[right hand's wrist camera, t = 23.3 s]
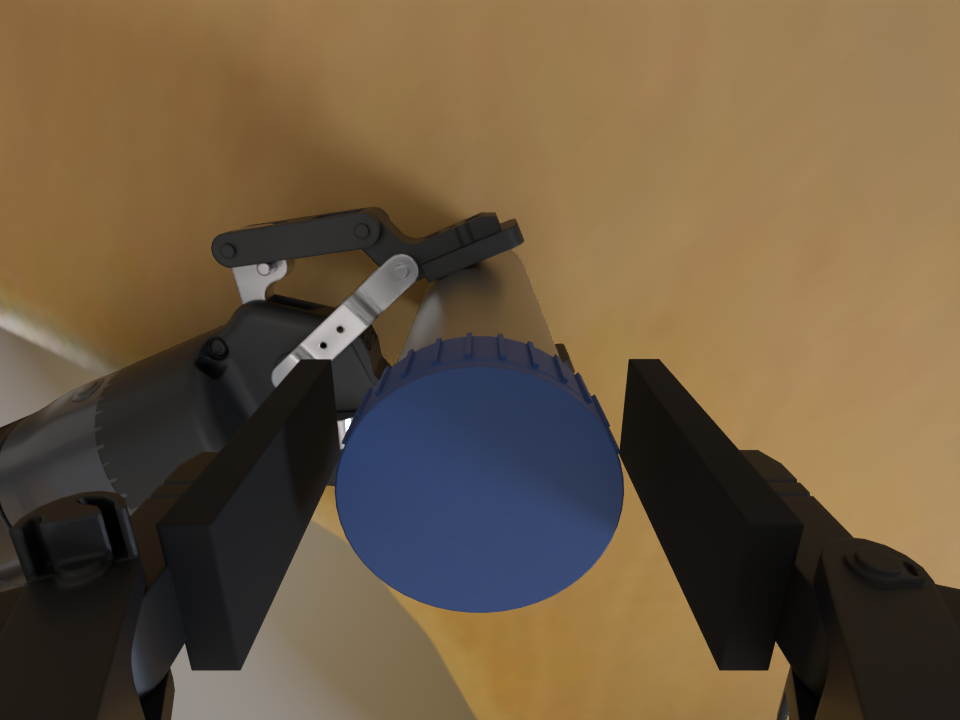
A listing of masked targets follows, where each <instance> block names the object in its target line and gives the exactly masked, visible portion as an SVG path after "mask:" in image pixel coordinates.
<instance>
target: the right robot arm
mask: <svg viewBox="0 0 960 720" xmlns="http://www.w3.org/2000/svg"><path fill="white" fill-rule="evenodd" d="M340 455H341V452H340V442H339V432H338V422H337V412H336V403H335V393H334V383H333V373H332V363H331V359H301V360H300V361H299V362H298V363H297V364H296V365H295V366H294V368H293V369H292V370H291V371H290V372H289V373H288V374H287V376H286V377H285V378H284V379H283V380H282V381H281V382H280V383H279V385H278V386H277V387H276V388H275V389H274V390H273V391H272V393H271V394H270V395H269V396H268V397H267V398H266V399H265V401H264V402H263V403H262V404H261V405H260V406H259V407H258V409H257V410H256V411H255V412H254V413H253V414H252V415H251V417H250V418H249V419H248V420H247V421H246V422H245V423H244V425H243V426H242V427H241V428H240V429H239V430H238V431H237V432H236V434H235V435H234V436H233V437H232V438H231V439H230V440H229V442H228V443H227V444H226V445H225V446H224V447H223V448H222V450H221V451H220V452H202V453H200V454H198V455H196V456H195V457H193V458H191V459H189V460H188V461H186V462H184V463H183V464H181V465H179V466H178V467H177V468H176V469H175V470H174V471H173V472H172V473H171V474H170V475H169V476H168V477H167V478H166V480H165V481H164V484H163V485H160V486H159V487H158V488H157V489H156V490H155V491H154V492H153V493H152V494H151V497H150V498H147V499H146V500H145V501H144V502H143V503H142V504H141V505H140V506H139V507H138V508H137V509H136V510H135V511H134V513H133V514H132V515H131V516H130V515H129V511H128V508H127V504H126V500H125V498H123V497H122V496H120V495H119V494H117V493H114V492H107V491H93V492H83V493H78V494H74V495H71V496H67V497H63V498H59V499H57V500H54V501H52V502H50V503H47V504H45V505H43V506H40V507H38V508H36V509H35V510H33V511H31V512H30V513H28V514H27V515H25V516H23V517H22V518H20V519H19V520H18V521H17V522H16V523H15V524H14V525H13V526H12V527H11V529H10V530H9V534H10V537H11V540H12V542H13V545H14V548H15V551H16V553H17V556H18V559H19V562H20V564H21V567H22V570H23V573H24V575H25V578H26V581H27V582H26V584H25V586H24V587H21V588H17V589H12V590H7V591H2V592H0V720H171V715H172V708H173V700H174V692H175V689H174V682H173V676H172V673H171V669H170V667H171V665H172V663H173V662H174V660H175V658H176V657H177V655H178V653H179V652H180V650H181V648H182V647H183V645H184V644H185V645H186V649H187V653H188V657H189V661H190V665H191V669H192V670H241V668H242V666H243V664H244V662H245V660H246V657H247V655H248V653H249V651H250V649H251V647H252V645H253V642H254V640H255V638H256V636H257V634H258V632H259V630H260V627H261V625H262V623H263V621H264V619H265V617H266V614H267V612H268V610H269V608H270V606H271V604H272V602H273V599H274V597H275V595H276V593H277V591H278V589H279V586H280V584H281V582H282V580H283V578H284V576H285V574H286V571H287V569H288V567H289V565H290V563H291V560H292V559H293V556H294V554H295V552H296V550H297V548H298V546H299V543H300V541H301V539H302V537H303V535H304V533H305V530H306V528H307V526H308V524H309V522H310V520H311V518H312V515H313V513H314V511H315V509H316V507H317V505H318V503H319V500H320V498H321V496H322V494H323V492H324V490H325V487H326V485H327V483H328V481H329V479H330V477H331V475H332V472H333V470H334V468H335V466H336V464H337V462H338V460H339V457H340ZM619 455H620V457H621V460H622V462H623V464H624V466H625V468H626V470H627V472H628V475H629V477H630V479H631V481H632V483H633V485H634V488H635V490H636V492H637V494H638V496H639V498H640V500H641V503H642V505H643V507H644V509H645V511H646V513H647V515H648V518H649V520H650V522H651V524H652V526H653V528H654V531H655V533H656V535H657V537H658V539H659V541H660V543H661V546H662V548H663V550H664V552H665V554H666V556H667V559H668V561H669V563H670V565H671V567H672V569H673V571H674V574H675V576H676V578H677V580H678V582H679V584H680V586H681V589H682V591H683V593H684V595H685V597H686V599H687V602H688V604H689V606H690V608H691V610H692V612H693V614H694V617H695V619H696V621H697V623H698V625H699V627H700V630H701V632H702V634H703V636H704V638H705V640H706V642H707V645H708V647H709V649H710V651H711V653H712V655H713V658H714V660H715V662H716V664H717V666H718V668H719V670H768V669H769V665H770V661H771V657H772V653H773V649H774V645H775V641H776V642H777V644H778V646H779V647H780V649H781V651H782V652H783V654H784V655H785V657H786V659H787V660H788V662H789V664H790V669H789V673H788V676H787V680H786V684H785V688H784V691H783V695H782V699H781V703H780V706H779V710H778V714H777V720H786V719H787V716H788V715H789V720H960V589H956V588H951V587H946V586H941V585H937V584H935V583H934V581H933V580H932V578H931V577H930V576H929V575H928V573H927V572H926V571H925V570H924V568H923V567H921V566H920V565H919V564H917V563H916V562H914V561H913V560H912V559H910V558H909V557H908V556H906V555H904V554H902V553H900V552H898V551H896V550H894V549H892V548H890V547H888V546H886V545H883V544H879V543H876V542H873V541H869V540H866V539H860V538H853V537H852V535H851V534H850V533H849V532H848V531H847V530H846V529H845V528H844V527H843V526H842V525H841V524H840V523H839V522H838V521H837V520H836V519H835V518H834V517H833V516H832V515H831V514H830V513H829V512H828V511H827V510H826V509H825V508H824V507H823V506H822V505H821V504H820V503H819V502H818V501H817V500H816V499H815V498H814V497H813V496H810V492H809V491H808V490H807V489H806V488H805V487H804V486H803V485H802V484H801V483H797V479H796V478H795V477H794V476H793V475H792V474H791V473H790V472H789V471H788V470H787V469H786V468H785V467H784V466H783V465H782V464H781V463H779V462H778V461H776V460H774V459H772V458H771V457H769V456H767V455H765V454H764V453H762V452H760V451H759V450H738V448H737V447H736V446H735V445H734V444H733V443H732V442H731V440H730V439H729V438H728V437H727V436H726V435H725V434H724V432H723V431H722V430H721V429H720V428H719V427H718V426H717V425H716V423H715V422H714V421H713V420H712V419H711V418H710V417H709V415H708V414H707V413H706V412H705V411H704V410H703V409H702V407H701V406H700V405H699V404H698V403H697V402H696V401H695V399H694V398H693V397H692V396H691V395H690V394H689V393H688V391H687V390H686V389H685V388H684V387H683V386H682V385H681V383H680V382H679V381H678V380H677V379H676V378H675V377H674V376H673V374H672V373H671V372H670V371H669V370H668V369H667V368H666V366H665V365H664V364H663V363H662V362H661V361H660V360H659V359H629V363H628V373H627V383H626V393H625V403H624V412H623V422H622V432H621V442H620V453H619Z"/></svg>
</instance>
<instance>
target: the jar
mask: <svg viewBox="0 0 960 720" xmlns="http://www.w3.org/2000/svg"><path fill="white" fill-rule="evenodd" d="M471 332H472V336H493V337H497V336H498V334H503V337H504V338H507V339H511V340H515V341H519V342H522V343H525V344H527V342H528V341H530V342H533V345H534V347H535V348H538V349H540V350H542V351H544V352H545V353H547V354H549V355H551V356H552V357H553V356H554V355H555V354H556V355H558V356H559V354H558V352H557V349H556V346H555V344H554V341H553V339H552V336H551V334H550V331H549V329H548V326H547V324H546V321H545V319H544V316H543V314H542V311H541V309H540V306H539V303H538V301H537V298H536V296H535V293H534V291H533V288H532V286H531V283H530V281H529V278H528V276H527V273H526V271H525V268H524V266H523V264H522V262H521V260H520V259H519V258H518V256H517V255H516V254H515V253H514V252H513V251H512V250H511V249H509V250H507V251H505V252H502V253H500V254H497V255H495V256H493V257H490V258H488V259H485V260H483V261H481V262H478V263H476V264H473V265H471V266H469V267H466V268H464V269H462V270H459V271H456V272H453V273H451V274H449V275H447V276H445V277H442V278H440V279H438V280H435V281H433V282H430V283H429V284H428V287H427V289H426V292H425V294H424V297H423V299H422V302H421V304H420V307H419V309H418V312H417V314H416V317H415V319H414V322H413V324H412V327H411V329H410V332H409V334H408V337H407V339H406V342H405V344H404V347H403V349H402V352H401V354H400V357H399V359H398V362H399V361H401V360H402V359H404V358H405V357H406V356H407V353H408V351H409V350H411V349H413V350H414V351H417V350H419V349H421V348H423V347H426V346H429V345H431V344H434V343H435V342H436V339H437V338H442V341H444V340H448V339H452V338H458V337H466V335H467V333H471ZM560 360H561V359H560ZM398 362H397V363H398Z"/></svg>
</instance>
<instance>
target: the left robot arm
mask: <svg viewBox="0 0 960 720" xmlns="http://www.w3.org/2000/svg"><path fill="white" fill-rule="evenodd" d="M523 242H524V239H523V236H522V234H521V231H520V228H519V226H518V223H517V221H516V219H511V220H508V221H506V222H503V223H501V224H500V223H499V220H498V218H497V215H496V213H495V212H494V213H479V214H477V215H474V216H472V217H470V218H468V219H465V220H463V221H461V222H458V223H456V224H454V225H451V226H449V227H447V228H444V229H442V230H440V231H437V232H435V233H433V234H430V235H428V236H426V237H423V238H419V239H415V238H410V237H408V236H406V235H404V234H403V233H402V232H401V231H400V230H399V229H398V228H397V227H396V226H395V225H394V224H393V223H392V222H391V221H390V219H389V217H388V215H387V213H386V212H385V211H384V210H382V209H381V208H378V207H368V208H361V209H354V210H348V211H341V212H334V213H328V214H321V215H315V216H308V217H301V218H295V219H288V220H282V221H275V222H268V223H262V224H255V225H249V226H246V227H243V228H239V229H236V230H233V231H229V232H226V233H223V234H220V235H218V236H217V237H216V238H215V239H214V240H213V242H212V248H211V249H212V254H213V256H214V258H215V259H216V261H217V262H218V263H220V264H221V265H223V266H225V267H228V268H232V271H233V275H234V278H235V281H236V284H237V288H238V291H239V294H240V298H241V301H242V304H243V305H241V306H240V307H239V308H238V309H237V310H236V311H235V312H234V314H233V316H232V317H231V319H230V320H229V321H228V322H227V323H226V324H225V325H223V326H221V327H218V328H216V329H214V330H211V331H209V332H207V333H204V334H202V335H200V336H197V337H195V338H193V339H190V340H188V341H186V342H183V343H181V344H179V345H176V346H174V347H172V348H169V349H167V350H165V351H162V352H160V353H158V354H155V355H153V356H151V357H148V358H146V359H144V360H141V361H139V362H137V363H134V364H132V365H130V366H127V367H125V368H123V369H121V370H118V371H116V372H114V373H111V374H109V375H106V376H104V377H102V378H99V379H97V380H94V381H92V382H90V383H88V384H85V385H83V386H81V387H79V388H77V389H75V390H73V391H71V392H69V393H67V394H65V395H64V396H62V397H60V398H58V399H57V400H55V401H54V402H52V403H51V404H49V405H48V406H46V407H45V408H43V409H41V410H39V411H37V412H35V413H33V414H31V415H29V416H26V417H24V418H22V419H19V420H17V421H15V422H12V423H10V424H8V425H5V426H3V427H1V428H0V592H2V591H7V590H12V589H17V588H21V587H24V586H25V584H26V582H27V581H26V578H25V575H24V573H23V570H22V567H21V564H20V562H19V559H18V556H17V553H16V551H15V548H14V545H13V542H12V540H11V537H10V534H9V530H10V529H11V527H12V526H13V525H14V524H15V523H16V522H17V521H18V520H19V519H20V518H22V517H23V516H25V515H27V514H28V513H30V512H31V511H33V510H35V509H36V508H38V507H40V506H43V505H45V504H47V503H50V502H52V501H54V500H57V499H59V498H63V497H67V496H71V495H74V494H78V493H83V492H93V491H107V492H114V493H117V494H119V495H120V496H122V497H123V498H125V500H126V504H127V508H128V511H129V515H130V516H131V515H132V514H133V513H134V511H135V510H136V509H137V508H138V507H139V506H140V505H141V504H142V503H143V502H144V501H145V500H146V499H147V498H150V497H151V494H152V493H153V492H154V491H155V490H156V489H157V488H158V487H159V486H160V485H163V484H164V481H165V480H166V478H167V477H168V476H169V475H170V474H171V473H172V472H173V471H174V470H175V469H176V468H177V467H178V466H179V465H181V464H183V463H184V462H186V461H188V460H189V459H191V458H193V457H195V456H196V455H198V454H200V453H202V452H220V451H221V450H222V448H223V447H224V446H225V445H226V444H227V443H228V442H229V440H230V439H231V438H232V437H233V436H234V435H235V434H236V432H237V431H238V430H239V429H240V428H241V427H242V426H243V425H244V423H245V422H246V421H247V420H248V419H249V418H250V417H251V415H252V414H253V413H254V412H255V411H256V410H257V409H258V407H259V406H260V405H261V404H262V403H263V402H264V401H265V399H266V398H267V397H268V396H269V395H270V394H271V393H272V391H273V390H274V389H275V388H276V387H277V386H278V385H279V383H280V382H281V381H282V380H283V379H284V378H285V377H286V376H287V374H288V373H289V372H290V371H291V370H292V369H293V368H294V366H295V365H296V364H297V363H298V362H299V361H300V360H301V359H331V363H332V373H333V383H334V393H335V403H336V412H337V422H338V432H339V442H340V452H341V453H342V451H343V448H344V444H342V440H343V438H344V436H345V434H346V432H347V430H348V427H349V425H350V423H351V421H352V419H353V417H354V415H355V413H356V411H357V410H358V408H359V406H360V403H361V401H362V399H363V397H364V395H365V393H366V391H367V389H368V388H369V387H371V388H373V387H374V386H375V385H376V384H377V382H378V381H379V380H380V378H381V376H382V374H383V372H384V369H385V368H386V367H387V366H390V367H391V365H390V364H389V363H388V362H387V361H386V360H385V359H384V358H383V356H382V354H381V349H380V345H379V340H378V336H377V334H376V332H375V330H374V328H373V326H372V323H373V322H374V321H375V320H376V319H377V317H378V316H379V315H380V314H381V313H382V312H383V311H384V310H385V309H386V308H388V307H389V306H390V305H391V304H392V303H393V302H394V301H395V300H396V299H397V298H398V297H399V296H401V295H402V294H403V293H404V292H405V291H406V290H407V289H408V288H409V287H410V286H411V285H412V284H413V283H414V282H415V281H418V280H420V279H422V278H425V277H426V278H427V280H428V282H429V283H430V282H433V281H435V280H438V279H440V278H442V277H445V276H447V275H449V274H451V273H453V272H456V271H459V270H462V269H464V268H466V267H469V266H471V265H473V264H476V263H478V262H481V261H483V260H485V259H488V258H490V257H493V256H495V255H497V254H500V253H502V252H505V251H507V250H509V249H512V248H514V247H516V246H518V245H520V244H522V243H523ZM358 249H362V250H363V251H364V252H365V253H366V254H367V255H368V256H369V257H370V258H371V259H372V260H373V261H374V262H375V263H376V264H377V265H378V266H379V267H378V268H377V269H376V270H375V271H374V272H373V273H372V274H371V275H370V276H369V277H367V278H366V279H365V280H364V281H363V282H362V283H361V284H360V285H359V286H358V287H357V288H356V289H355V290H354V291H353V292H352V293H351V294H349V295H348V296H347V297H346V298H345V299H344V300H343V301H342V302H341V303H340V304H339V305H338V306H337V307H336V308H335V307H330V306H326V305H321V304H317V303H312V302H308V301H303V300H299V299H294V298H290V297H286V296H281V295H277V294H274V292H273V288H274V284H275V282H276V281H278V280H280V279H282V278H284V277H285V276H287V275H288V274H290V273H291V272H292V271H293V269H294V266H295V259H296V258H303V257H310V256H317V255H324V254H330V253H337V252H344V251H351V250H358ZM555 346H556V349H557V352H558V354H559V357H560V359H561V362H562V364H563V365H565V366H566V367H567V368H569V369H570V370H571V371H572V372H573V373H574V372H575V370H574V368H573V365H572V363H571V360H570V357H569V355H568V353H567V350H566V348H565V346H564V344H555ZM391 368H392V367H391ZM340 456H341V455H340ZM339 458H340V457H339ZM338 463H339V460H338V462H337V464H336V466H335V468H334V470H333V472H332V475H331V477H330V479H329V481H328V483H327V485H329V486H335V481H336V472H337V471H336V468H337V465H338Z"/></svg>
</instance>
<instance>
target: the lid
mask: <svg viewBox="0 0 960 720" xmlns="http://www.w3.org/2000/svg"><path fill="white" fill-rule="evenodd" d="M609 426H610V425H609V423H608V420H607V418H606V416H605V414H604V412H603V410H602V408H601V406H600V404H599V402H598V400H597V398H596V396H595V395H593V396H591V395H590V393H589V392H588V390H587V388H586V385H585V383H584V381H583V379H582V377H581V375H580V374H579V373H577V374H574V373H573V372H572V371H571V370H570V369H569V368H567V367H566V366H565V365H563V364H562V362H561V360H560V357H559V356H558V355H556V354H555V355H554V356H553V357H552V356H551V355H549V354H547V353H545V352H544V351H542V350H540V349H538V348H535V347H534V345H533V342H530V341H528V342H527V344H525V343H522V342H519V341H515V340H511V339H507V338H504V337H503V334H498V336H497V337H493V336H472V332H471V333H467V335H466V337H458V338H452V339H448V340H444V341H442V338H437V339H436V342H435V343H434V344H431V345H429V346H426V347H423V348H421V349H419V350H417V351H414V350H413V349H411V350H409V351H408V353H407V356H406V357H405V358H404V359H402V360H401V361H399V362H398V363H397V364H395V365H394V366H393V367H392V368H391V367H390V366H387V367H386V368H385V369H384V372H383V374H382V376H381V378H380V380H379V381H378V382H377V384H376V385H375V386H374V387H373V388H371V387H369V388H368V389H367V391H366V393H365V395H364V397H363V399H362V401H361V403H360V406H359V408H358V410H357V411H356V413H355V415H354V417H353V419H352V421H351V423H350V425H349V427H348V430H347V432H346V434H345V436H344V438H343V440H342V444H344V448H343V451H342V453H341V456H340V458H339V463H338V465H337V468H336V471H337V472H336V481H335V497H336V507H337V511H338V515H339V519H340V523H341V526H342V528H343V530H344V533H345V535H346V538H347V540H348V541H349V543H350V545H351V546H352V548H353V550H354V551H355V553H356V554H357V555H358V557H359V558H360V559H361V560H362V562H363V563H364V564H365V565H366V566H367V567H368V568H369V569H370V570H371V571H372V572H373V573H374V574H375V575H376V576H377V577H378V578H380V579H381V580H382V581H384V582H385V583H386V584H387V585H389V586H390V587H392V588H394V589H395V590H397V591H399V592H400V593H402V594H404V595H406V596H408V597H410V598H412V599H415V600H417V601H419V602H422V603H425V604H428V605H431V606H434V607H438V608H442V609H447V610H452V611H460V612H469V613H488V612H499V611H507V610H512V609H517V608H521V607H525V606H528V605H531V604H534V603H537V602H540V601H542V600H544V599H547V598H549V597H551V596H553V595H555V594H557V593H559V592H560V591H562V590H564V589H566V588H567V587H569V586H570V585H571V584H573V583H574V582H575V581H577V580H578V579H579V578H581V577H582V576H583V575H584V574H585V573H586V572H587V571H588V570H589V569H590V568H591V567H592V566H593V565H594V564H595V563H596V561H597V560H598V559H599V558H600V557H601V555H602V554H603V553H604V551H605V549H606V548H607V546H608V545H609V543H610V541H611V539H612V537H613V535H614V533H615V530H616V528H617V526H618V522H619V519H620V515H621V511H622V505H623V497H624V482H623V473H622V468H621V463H620V459H619V456H618V454H619V453H620V450H619V448H618V445H617V443H616V441H615V439H614V437H613V435H612V433H611V431H610V429H609Z"/></svg>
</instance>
